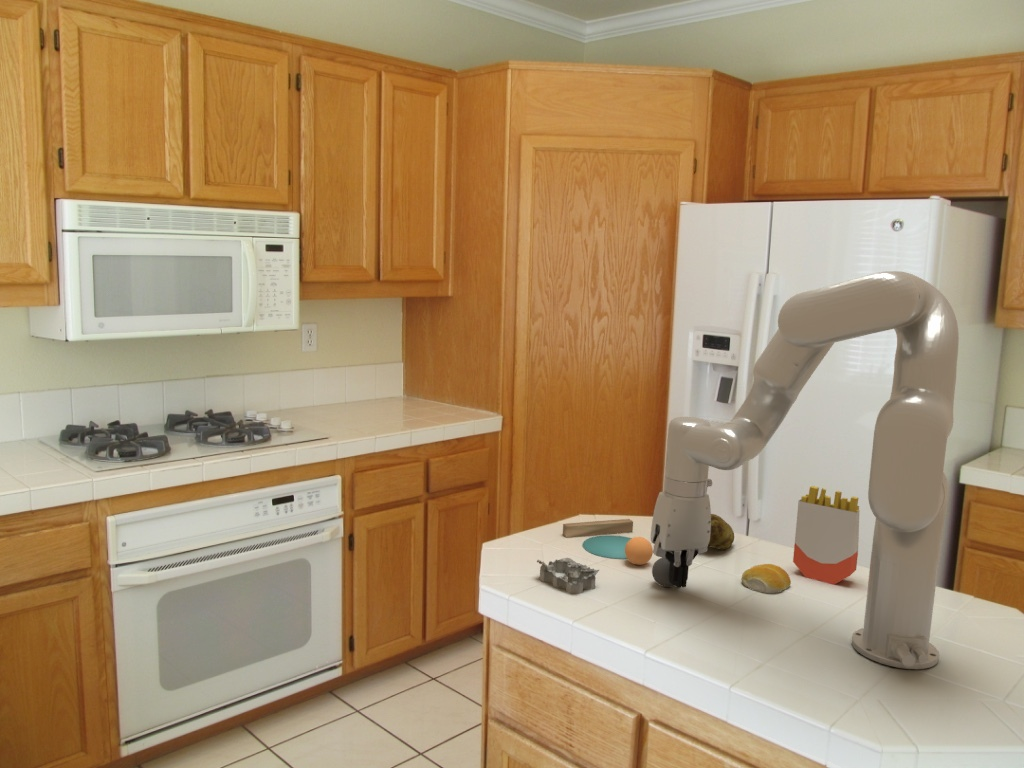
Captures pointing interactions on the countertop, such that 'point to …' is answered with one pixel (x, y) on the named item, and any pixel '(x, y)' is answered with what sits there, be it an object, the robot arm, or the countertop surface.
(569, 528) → the wooden block
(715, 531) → the potato
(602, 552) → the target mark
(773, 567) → the bread roll
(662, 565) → the dark gray ball
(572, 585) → the egg carton
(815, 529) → the french fries container
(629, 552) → the object ball
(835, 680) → the countertop surface
